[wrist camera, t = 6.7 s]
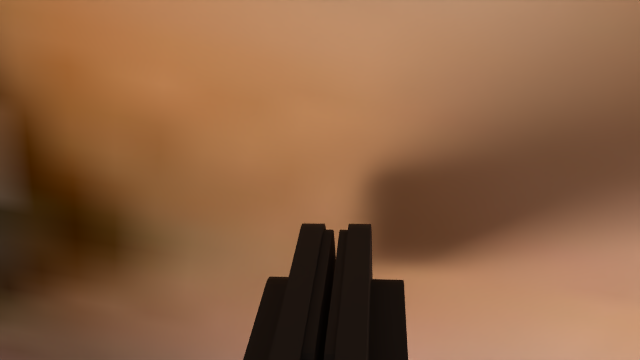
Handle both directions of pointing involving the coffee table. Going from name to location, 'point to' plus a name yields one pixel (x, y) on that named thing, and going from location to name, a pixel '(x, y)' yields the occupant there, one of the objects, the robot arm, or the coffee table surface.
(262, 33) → the coffee table surface
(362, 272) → the robot arm
